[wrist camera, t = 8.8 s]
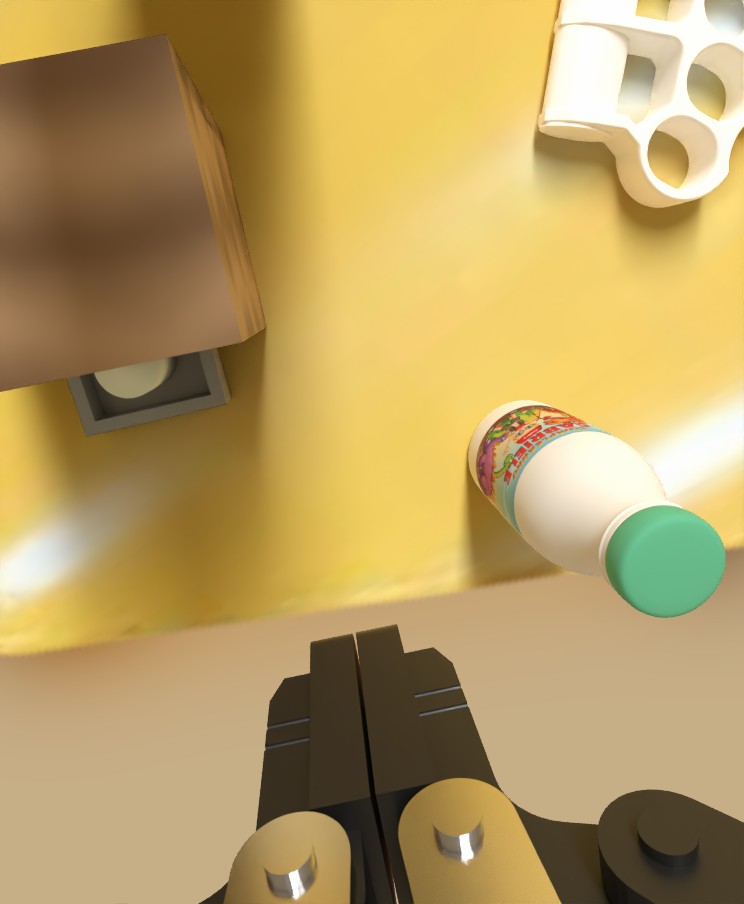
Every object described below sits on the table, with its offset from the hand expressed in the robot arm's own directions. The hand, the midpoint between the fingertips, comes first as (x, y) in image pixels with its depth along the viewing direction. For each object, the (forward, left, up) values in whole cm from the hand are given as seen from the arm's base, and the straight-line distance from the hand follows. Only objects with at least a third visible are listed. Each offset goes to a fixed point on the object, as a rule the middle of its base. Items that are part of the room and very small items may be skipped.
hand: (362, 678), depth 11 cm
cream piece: (-5, -11, -32) cm, 34 cm away
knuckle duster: (-17, +25, -33) cm, 45 cm away
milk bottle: (+7, +13, -33) cm, 36 cm away
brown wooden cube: (-11, -9, -33) cm, 36 cm away
